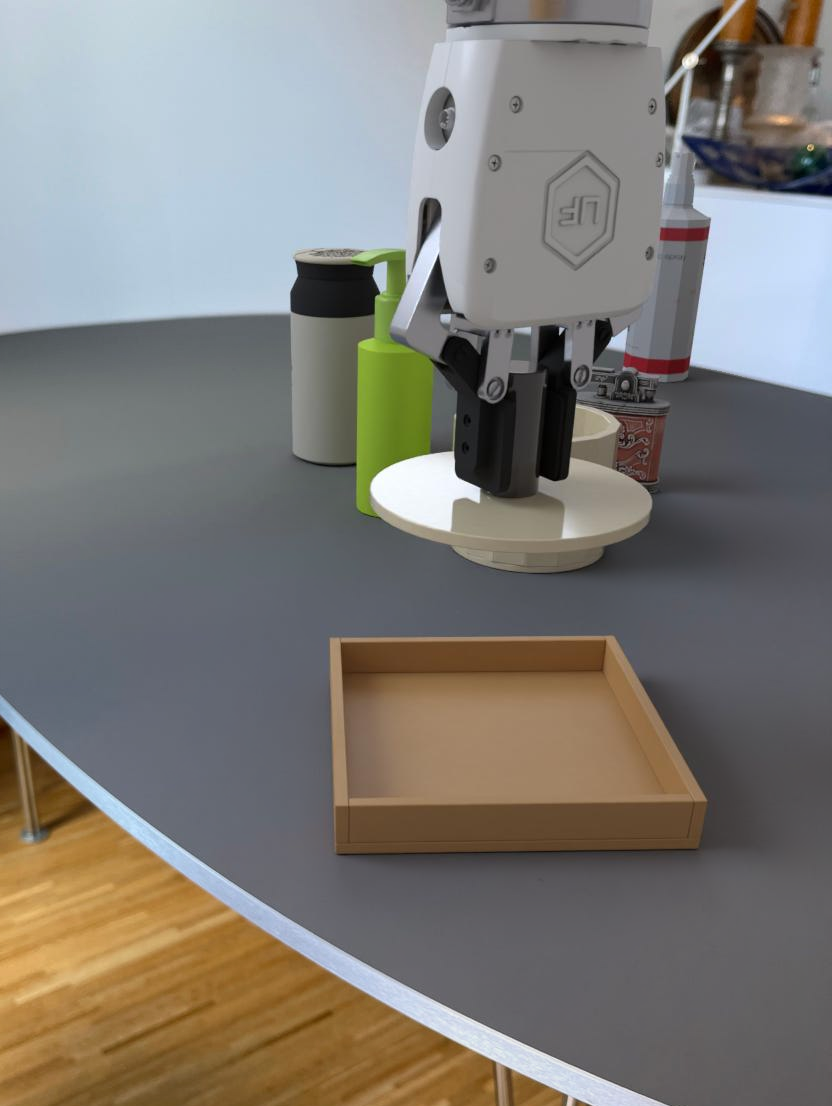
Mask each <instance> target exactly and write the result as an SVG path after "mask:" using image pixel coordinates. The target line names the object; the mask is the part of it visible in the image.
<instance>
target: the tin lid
mask: <svg viewBox="0 0 832 1106" xmlns="http://www.w3.org/2000/svg"><path fill="white" fill-rule="evenodd" d="M548 380H549V367H548V366H546V365H544V364H541V363H537V362H531V361H530V360H517V359H516V360H514V359H513V360H512V359H511V361H510V369H509V377H508V385H507V390H506V394H505V396H504V397H503V398H504V399H507V400H510V401H513V402H515V406H516V422H515V435H514V447H513V459H512V472H511V484H510V487H509V488H508V490H507V491H506V492H503V493H498V494H492V493H490V492H488V491H486V490H483V489H481V488H479V487H477V486H475V485H472V484H470V483H468V482H466V481H463V480H461V479H459V478H458V477H457V476H456V474H455V459H454V451H445V452H444V451H443V452H437V453H430V454H429V455H424V456H419V457H415V458H411V459H407V460H404V461H401V462H398V463H396V464H393V465H391V466H389V467H387V468H385V469H384V470H382V471H381V472H379V473H378V474H377V475H376V476H375V477H374V478H373V480H372V482H371V484H370V498H369V501H370V504H371V507H372V509H373V510H374V511H375V513H376V514H377V515H378V516H379V517H378V518H380V517H381V518H380V519H381V520H383V521H384V522H386V523H387V524H389V525H390V526H392V527H394V528H396V529H398V530H400V531H402V532H405V533H407V534H409V535H413V536H414V537H418V538H421V539H424V540H426V541H431V542H434V543H438V544H443V545H446V546H447V545H448V546H450V547H451V546H457V547H463V548H468V549H475V550H483V551H492V552H506V553H559V552H571V551H579V550H586V549H592V548H597V547H602V546H605V547H606V546H609V545H610V546H611V545H613V544H616V543H620V542H622V541H624V540H627V539H630V538H631V537H633V536H635V535H636V534H639V533H640V532H641V531H642V530H644V528H646V526H648V524H649V522H650V520H651V518H652V510H653V499H652V495H651V493H649V492H648V491H647V489H645V488H644V487H643V486H642V485H641V484H640V483H638V482H637V481H635V480H634V479H632V478H630V477H629V476H627V475H625V474H623V473H620V472H618V471H615V470H613V469H610V468H608V467H605V466H602V465H599V464H595V463H591V462H588V461H584V460H579V459H575V458H570V466H569V474H568V477H567V478H566V479H565V480H561V481H556V482H554V481H551V480H549V479H546V478H544V477H541V476H540V466H541V456H542V445H543V434H544V423H545V412H546V401H547V391H548Z"/></svg>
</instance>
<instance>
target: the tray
mask: <svg viewBox="0 0 832 1106" xmlns="http://www.w3.org/2000/svg"><path fill="white" fill-rule="evenodd" d="M329 686H330V687H329V690H330V691H329V693H330V722H331V723H330V725H331V727H330V729H331V730H330V731H331V759H332V760H331V761H332V762H331V763H332V793H333V794H332V795H333V797H332V798H333V799H332V800H333V824H334V825H333V827H334V829H333V831H334V834H333V835H334V853H335V854H336V855H351V854H352V855H353V854H354V855H355V854H358V855H359V854H418V853H419V854H421V853H423V854H424V853H426V854H427V853H428V854H429V853H432V854H433V853H488V852H491V853H493V852H494V853H495V852H496V853H497V852H499V853H500V852H555V851H556V852H561V851H563V852H565V851H568V852H569V851H573V852H574V851H633V850H634V851H635V850H636V851H637V850H638V851H639V850H697V849H699V848H700V843H701V837H702V834H703V829H704V823H705V817H706V813H707V806H708V803H709V802H708V799H707V797H706V796H705V794H704V791H703V790H702V788H701V787H700V785H699V783H698V781H697V780H696V778H695V776H694V774H693V773H692V770H691V768H690V767H689V766H688V764H687V761H686V759H684V756H683V755H682V753H681V751H680V750H679V748H678V746H677V744H676V742H675V741H674V739H673V737H672V736H671V734H670V732H669V730H668V728H667V726H666V725H665V723H664V721H663V720H662V718H661V716H660V715H659V712H658V711H657V709H656V707H655V705H654V704H653V702H652V700H651V699H650V697H649V695H648V693H647V691H646V689H645V688H644V686H643V685H642V683H641V681H640V678H639V677H638V675H637V674H636V672H635V670H634V669H633V666H632V665H631V663H630V662H629V659H628V657H627V656H626V654H625V652H624V651H623V649H622V647H621V646H620V644H619V641H618V640H617V638H616V637H615V635H538V636H537V635H534V636H532V635H531V636H529V635H528V636H525V635H523V636H521V635H519V636H515V635H514V636H411V637H410V636H409V637H408V636H403V637H401V636H400V637H399V636H398V637H391V636H390V637H387V636H386V637H330V638H329Z"/></svg>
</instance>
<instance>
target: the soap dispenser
mask: <svg viewBox="0 0 832 1106" xmlns="http://www.w3.org/2000/svg"><path fill="white" fill-rule="evenodd" d="M368 250H369V249H368ZM350 260H351V262H352V263H353V264H357V265H363V266H373V265H374V266H375V265H377V264H381V263H384V262H386V290H383V291H381V292H380V295H377V296H376V297H375V331H374V338H371V339H367V340H364V341H361V342H359V343H358V389H357V463H356V487H355V488H356V491H355V492H356V495H355V496H356V497H355V498H356V499H355V503H356V504H355V505H356V508H357V510H358V511H359V512H361V513H362V514H365V515H368V516H371V517H375V518H380V519H382V518H381V517H379V516H378V515H377V514H376V513H375V511H374V510H373V509H372V507H371V504H370V501H369V498H370V484H371V482H372V480H373V478H374V477H375V476H376V475H377V474H378V473H379V472H381V471H382V470H384V469H385V468H387V467H389V466H391V465H393V464H396V463H398V462H401V461H404V460H407V459H411V458H415V457H419V456H424V455H429V454H431V443H432V442H431V441H432V440H431V439H432V438H431V437H432V417H433V414H432V413H433V392H434V370H435V365H434V364H433V363H432V362H431V361H430V359H429V358H428V357H426V356H424V355H421V354H419V353H417V352H415V351H413V350H411V349H409V348H407V347H405V346H403V345H401V344H399V343H397V342H395V341H394V340H393V339H391V336H390V334H389V328H390V324H391V322H392V319H393V317H394V314H395V312H396V309H397V307H398V305H399V302H400V300H401V297H402V295H403V292H404V290H405V287H406V285H407V284H406V248H374V249H370V250H369V251H366V252H363V253H360V254H358V255H356V256H354V257H352V258H350Z"/></svg>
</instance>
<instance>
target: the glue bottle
mask: <svg viewBox="0 0 832 1106" xmlns="http://www.w3.org/2000/svg"><path fill="white" fill-rule="evenodd" d="M695 156H696V153H695V152H685V153H684V152H677V151H673V157H672V164H671V165H672V166H671V172H670V174H668V175H669V177H667V179H666V180H667V181H666V183H665V188H664V191H663V203H662V216H661V228H660V238H659V248H658V258H657V265H656V273H655V279H654V284H653V288H652V292H651V295H650V297H649V299H648V300H647V301H646V302H645V303H644V304H643V312H642V314H641V316H640V318H639V319H638V320H637V321H635V322H634V323H633V324H631V325H630V326H629V327H627V328H626V338H625V345H624V346H625V347H624V355H623V363H622V371H623V370H624V369H626V368H628V367H633V368H636V369H637V370H638V372H639V374H649V375H657V376H659V379H658V383H673V382H675V383H676V382H683V381H685V380H686V379H687V378H688V377H689V372H690V371H689V370H690V364H691V358H692V352H693V345H694V337H695V331H696V323H697V318H698V311H699V303H700V298H701V290H702V284H703V276H704V269H705V263H706V256H707V250H708V243H709V235H710V231H711V230H710V228H711V224H712V217H710V216H708V215H706V214H704V213H703V212H701V211H700V210H697V209H696V208H694V197H695V187H696V184H695V178H694V176H695V175H694V174H693V172H694V164H695V158H696V157H695Z"/></svg>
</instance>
